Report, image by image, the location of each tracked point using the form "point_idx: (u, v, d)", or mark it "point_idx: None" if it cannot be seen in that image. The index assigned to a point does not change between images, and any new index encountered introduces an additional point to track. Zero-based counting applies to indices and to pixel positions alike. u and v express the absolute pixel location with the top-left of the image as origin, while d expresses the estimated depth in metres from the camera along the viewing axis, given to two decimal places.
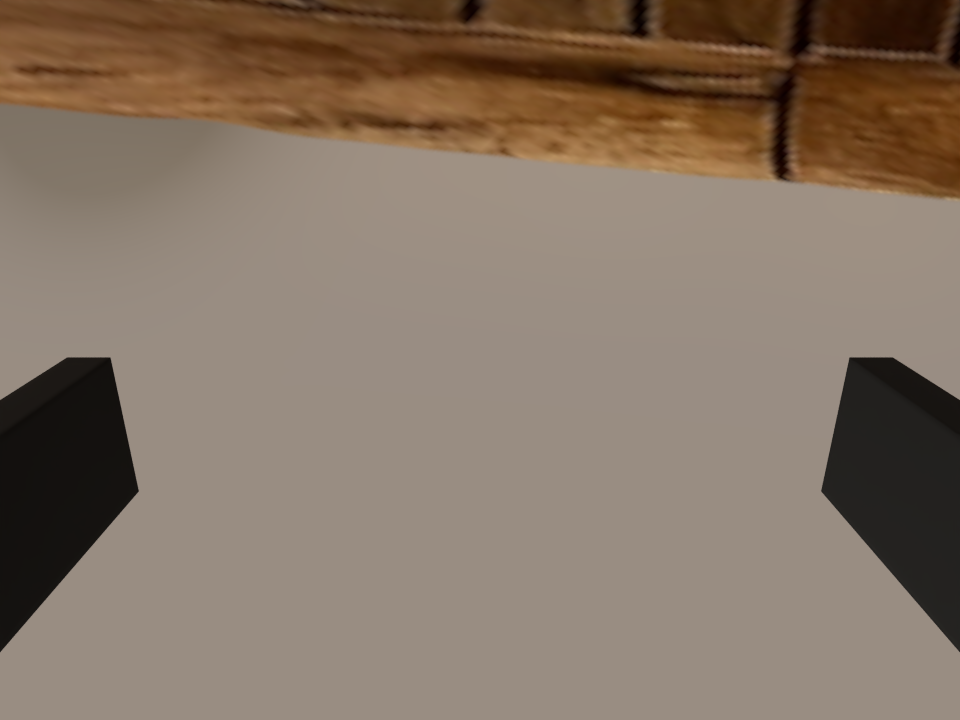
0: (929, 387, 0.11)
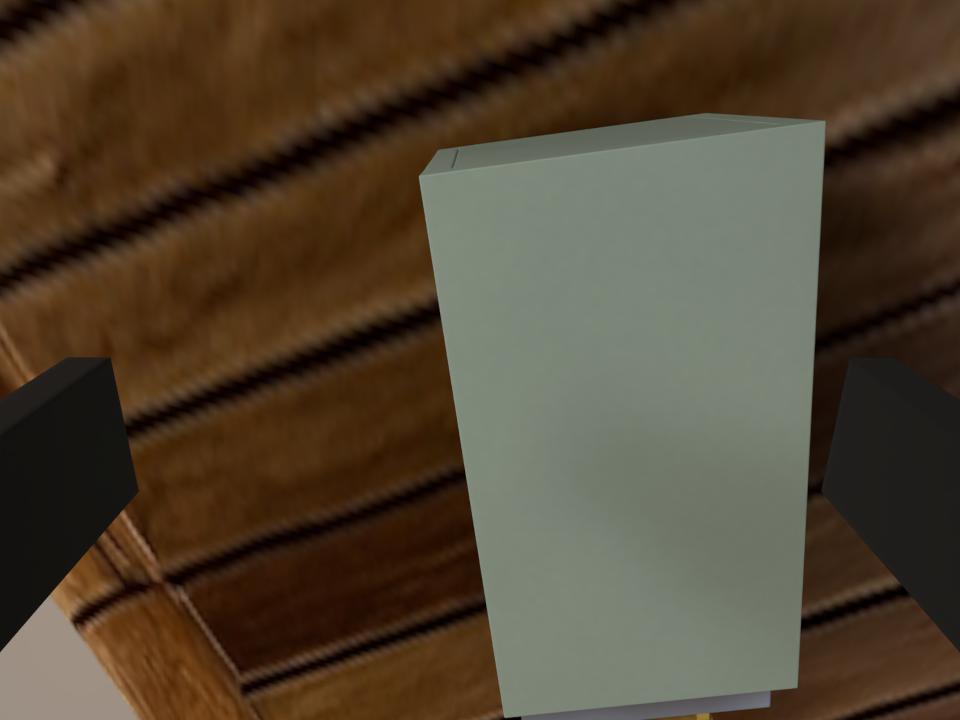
0: (929, 387, 0.11)
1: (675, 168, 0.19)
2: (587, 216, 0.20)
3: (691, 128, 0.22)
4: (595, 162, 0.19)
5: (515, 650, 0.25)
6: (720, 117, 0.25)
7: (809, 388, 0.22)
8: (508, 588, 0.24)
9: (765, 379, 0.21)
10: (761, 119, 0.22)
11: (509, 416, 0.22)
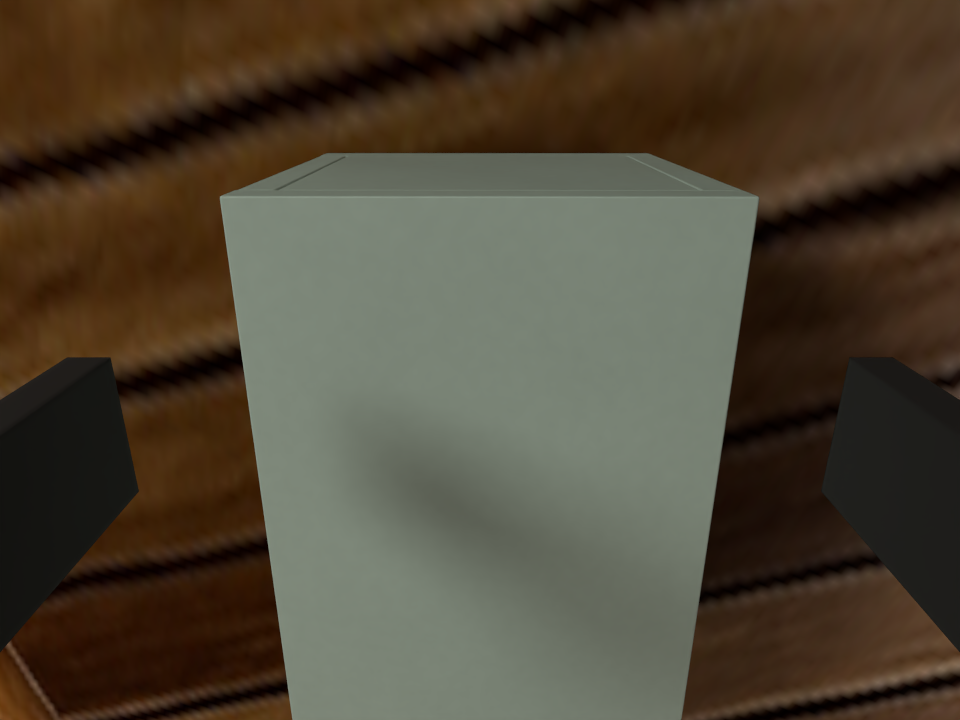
0: (929, 387, 0.11)
1: (559, 231, 0.14)
2: (441, 277, 0.15)
3: (604, 176, 0.17)
4: (455, 209, 0.14)
5: None
6: (654, 164, 0.20)
7: (707, 521, 0.17)
8: (319, 707, 0.20)
9: (653, 504, 0.17)
10: (692, 177, 0.17)
11: (329, 510, 0.17)
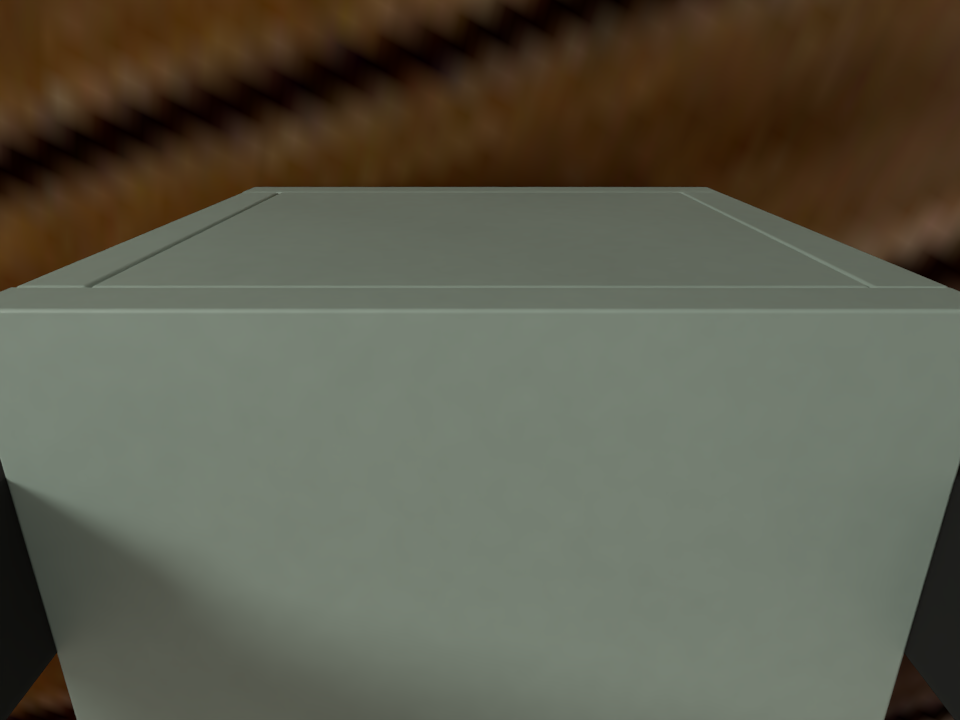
0: None
1: (616, 373, 0.08)
2: (391, 453, 0.08)
3: (673, 243, 0.11)
4: (416, 333, 0.07)
5: None
6: (732, 210, 0.14)
7: None
8: None
9: None
10: (819, 245, 0.10)
11: None
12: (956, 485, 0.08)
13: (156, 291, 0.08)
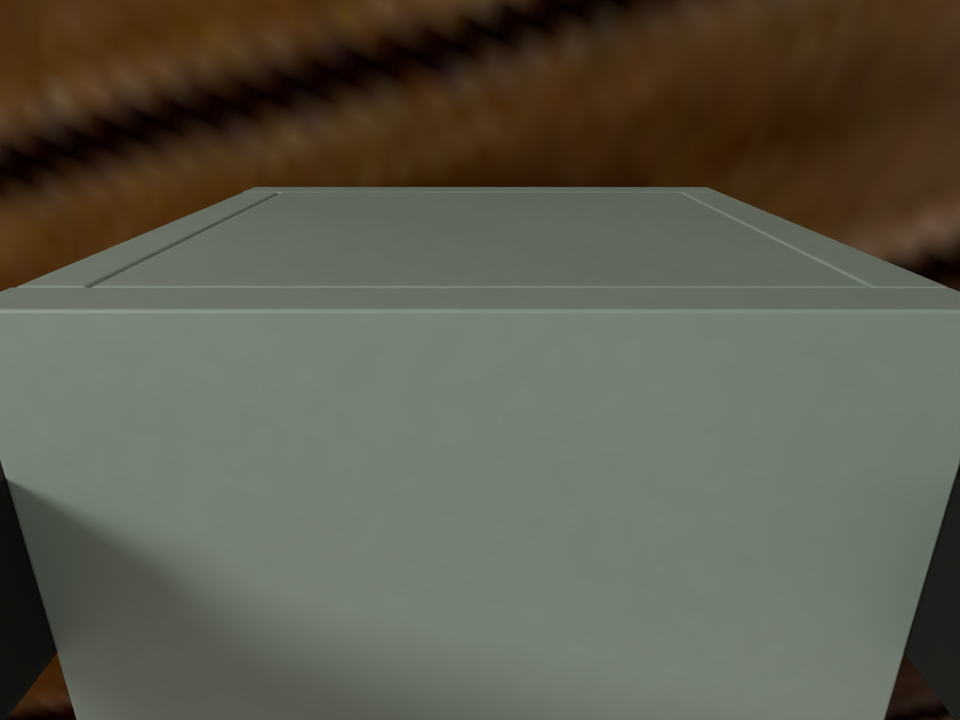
0: None
1: (615, 373, 0.08)
2: (391, 453, 0.08)
3: (673, 243, 0.11)
4: (415, 334, 0.07)
5: None
6: (731, 210, 0.14)
7: None
8: None
9: None
10: (819, 245, 0.10)
11: None
12: (956, 485, 0.08)
13: (155, 291, 0.08)
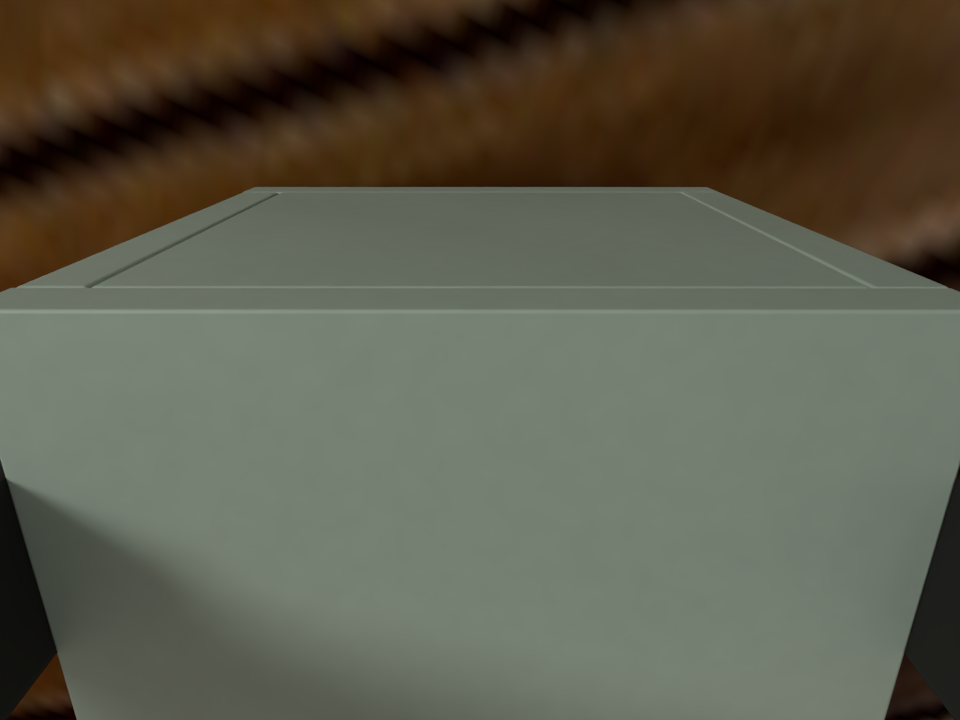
0: None
1: (616, 373, 0.08)
2: (391, 453, 0.08)
3: (674, 243, 0.11)
4: (415, 334, 0.07)
5: None
6: (732, 210, 0.14)
7: None
8: None
9: None
10: (819, 245, 0.10)
11: None
12: (956, 485, 0.08)
13: (156, 291, 0.08)
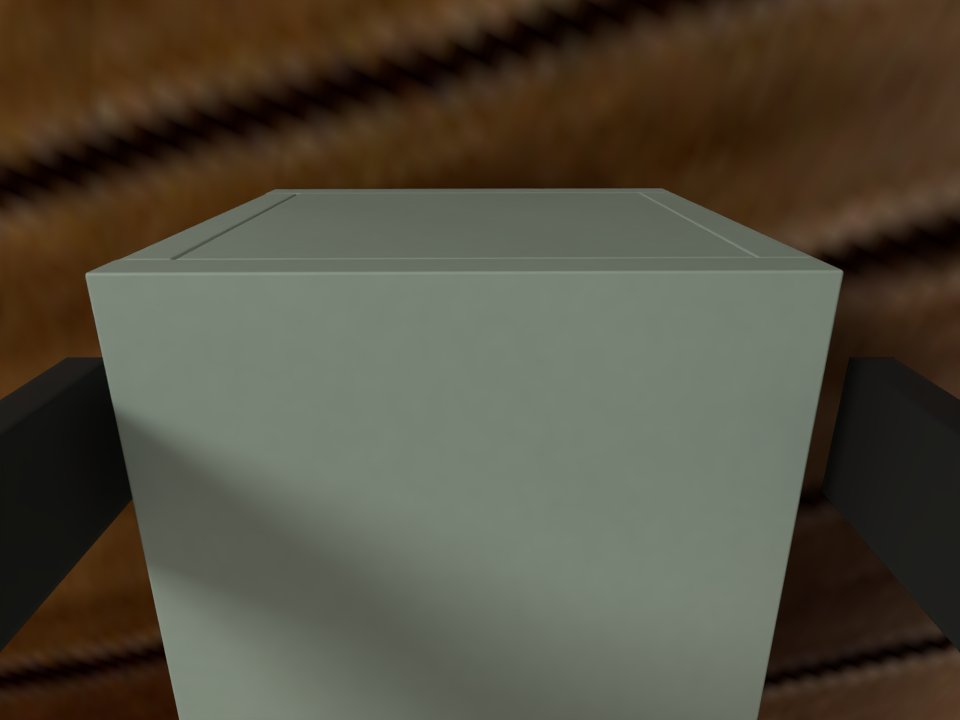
0: (929, 387, 0.11)
1: (565, 318, 0.10)
2: (401, 380, 0.11)
3: (619, 229, 0.13)
4: (419, 290, 0.10)
5: None
6: (675, 206, 0.16)
7: (759, 683, 0.13)
8: None
9: (690, 663, 0.13)
10: (733, 231, 0.13)
11: (258, 676, 0.13)
12: None
13: (225, 261, 0.11)
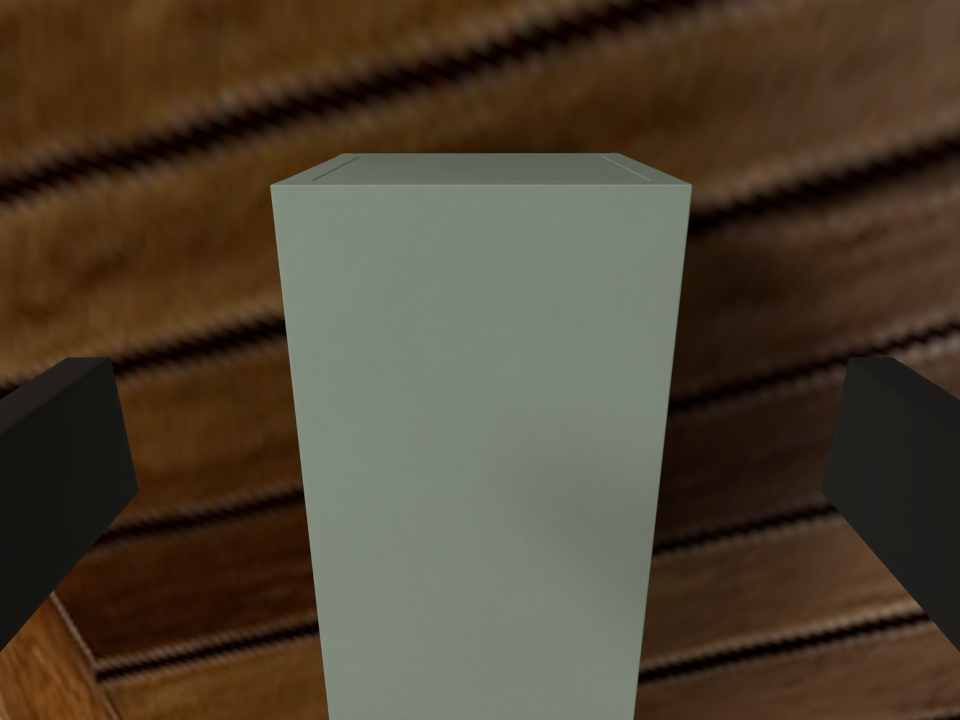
0: (929, 387, 0.11)
1: (537, 212, 0.18)
2: (443, 249, 0.19)
3: (576, 170, 0.21)
4: (455, 195, 0.18)
5: (347, 678, 0.25)
6: (620, 161, 0.24)
7: (659, 450, 0.21)
8: (342, 615, 0.24)
9: (616, 435, 0.21)
10: (646, 171, 0.21)
11: (352, 442, 0.21)
12: None
13: (344, 181, 0.19)
